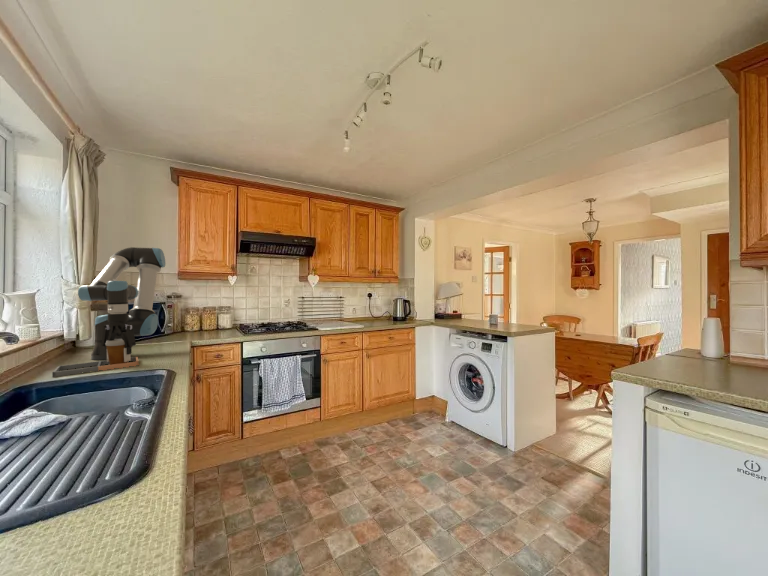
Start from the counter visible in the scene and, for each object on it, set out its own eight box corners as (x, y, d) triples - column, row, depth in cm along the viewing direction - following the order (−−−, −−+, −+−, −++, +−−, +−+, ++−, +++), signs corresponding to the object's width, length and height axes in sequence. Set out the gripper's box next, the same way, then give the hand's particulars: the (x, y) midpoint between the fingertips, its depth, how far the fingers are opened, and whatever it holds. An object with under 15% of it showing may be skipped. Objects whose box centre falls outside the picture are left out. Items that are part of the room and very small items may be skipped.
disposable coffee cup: (133, 364, 152) (132, 339, 152) (106, 368, 145) (106, 342, 145) (129, 361, 158) (129, 337, 158) (104, 365, 151) (103, 340, 151)
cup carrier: (58, 370, 144) (58, 365, 144) (137, 360, 162) (137, 356, 162) (52, 377, 132) (52, 372, 132) (138, 365, 150) (138, 361, 150)
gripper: (90, 314, 149) (90, 362, 149) (131, 313, 147) (132, 363, 147) (105, 312, 156) (106, 359, 156) (145, 312, 154) (145, 359, 154)
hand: (118, 361), depth 151 cm, fingers closed on disposable coffee cup, 8 cm apart
